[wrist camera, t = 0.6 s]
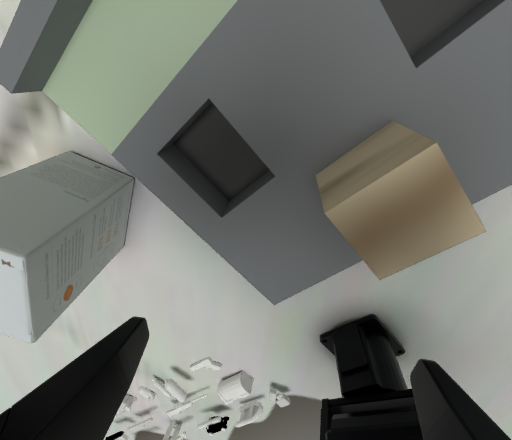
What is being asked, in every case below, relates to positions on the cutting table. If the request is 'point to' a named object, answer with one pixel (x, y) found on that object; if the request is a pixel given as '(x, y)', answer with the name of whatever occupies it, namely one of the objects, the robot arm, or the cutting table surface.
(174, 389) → the miniature set
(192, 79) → the board
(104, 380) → the robot arm
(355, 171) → the maple block
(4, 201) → the small box
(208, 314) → the cutting table surface
